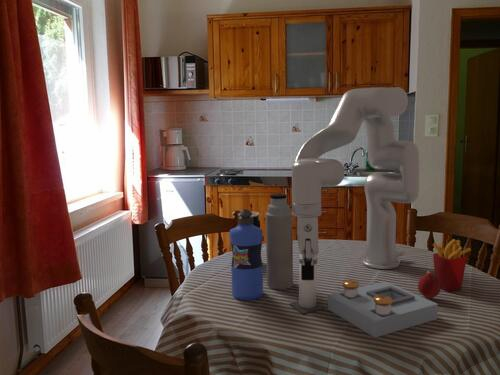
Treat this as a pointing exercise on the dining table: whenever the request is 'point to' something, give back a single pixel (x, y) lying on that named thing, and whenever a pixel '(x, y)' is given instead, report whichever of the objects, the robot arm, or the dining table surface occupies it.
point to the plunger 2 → (382, 305)
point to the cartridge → (308, 286)
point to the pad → (305, 310)
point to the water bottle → (246, 258)
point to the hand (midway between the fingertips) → (306, 274)
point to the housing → (402, 316)
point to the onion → (429, 286)
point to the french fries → (450, 265)
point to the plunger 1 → (350, 289)
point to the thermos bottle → (279, 243)
